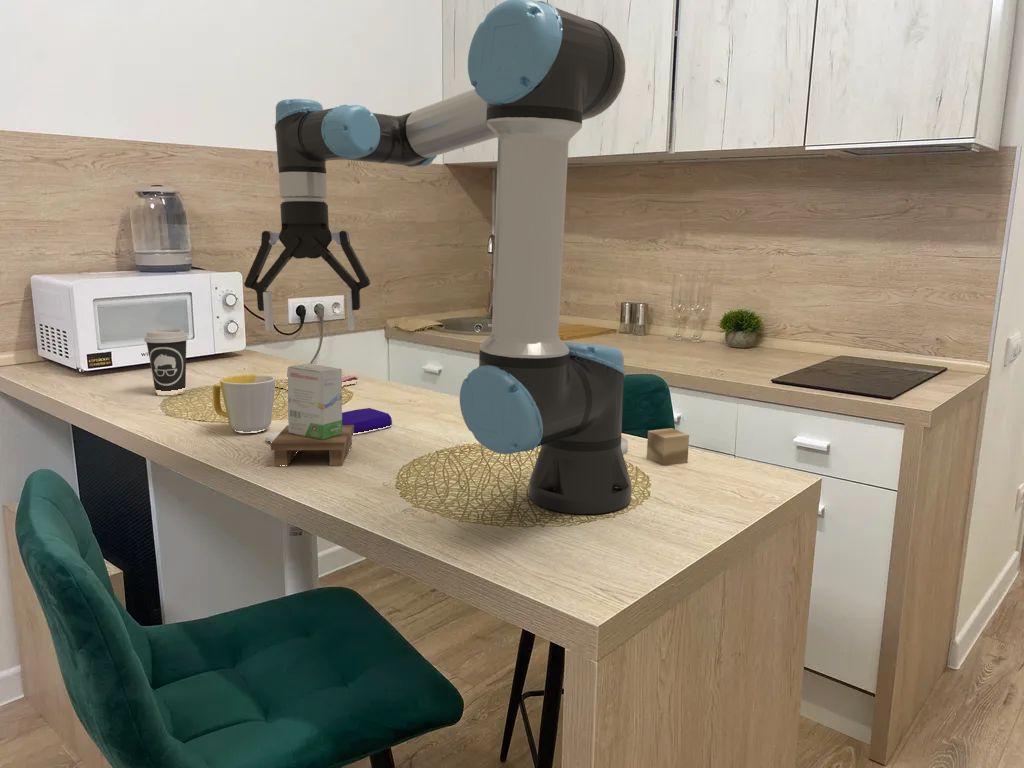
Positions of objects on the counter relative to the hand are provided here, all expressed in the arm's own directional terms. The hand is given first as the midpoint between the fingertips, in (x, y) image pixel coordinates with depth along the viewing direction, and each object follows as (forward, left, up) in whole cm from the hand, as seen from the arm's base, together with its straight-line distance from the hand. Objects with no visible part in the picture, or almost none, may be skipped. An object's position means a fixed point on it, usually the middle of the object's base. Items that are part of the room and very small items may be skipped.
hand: (310, 330), depth 129 cm
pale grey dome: (+2, -51, -22) cm, 56 cm away
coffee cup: (+54, +44, -22) cm, 73 cm away
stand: (0, 0, -22) cm, 22 cm away
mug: (+19, +17, -22) cm, 34 cm away
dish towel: (+66, +15, -23) cm, 71 cm away
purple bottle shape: (+16, 0, -23) cm, 28 cm away
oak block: (-5, -61, -22) cm, 65 cm away
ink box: (0, 0, -18) cm, 18 cm away
